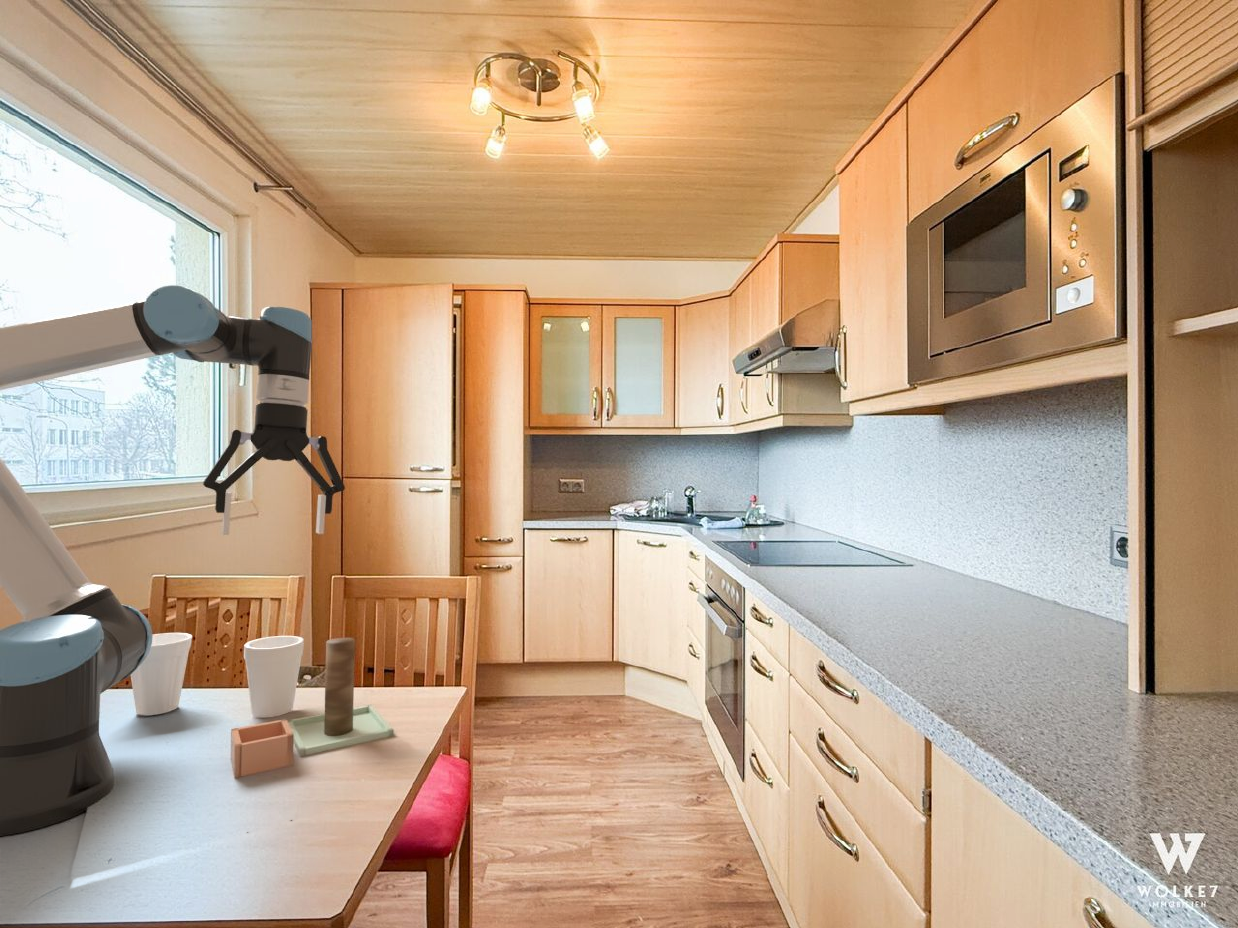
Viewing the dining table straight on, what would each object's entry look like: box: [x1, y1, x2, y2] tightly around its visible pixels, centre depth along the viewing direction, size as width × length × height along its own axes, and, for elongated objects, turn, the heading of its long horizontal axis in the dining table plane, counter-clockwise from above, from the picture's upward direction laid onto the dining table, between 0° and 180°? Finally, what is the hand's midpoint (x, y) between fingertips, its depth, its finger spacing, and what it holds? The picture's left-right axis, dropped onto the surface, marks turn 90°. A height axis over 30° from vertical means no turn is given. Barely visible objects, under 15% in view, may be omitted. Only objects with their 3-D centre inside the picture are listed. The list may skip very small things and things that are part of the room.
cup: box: [130, 632, 193, 716], centre depth 115 cm, size 10×10×13 cm
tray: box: [287, 704, 395, 757], centre depth 106 cm, size 14×14×2 cm
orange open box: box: [230, 718, 294, 779], centre depth 94 cm, size 7×7×5 cm
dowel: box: [324, 637, 356, 736], centre depth 106 cm, size 4×4×15 cm
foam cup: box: [243, 635, 305, 719], centre depth 115 cm, size 10×9×13 cm
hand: (274, 533), depth 103 cm, fingers open, 13 cm apart
